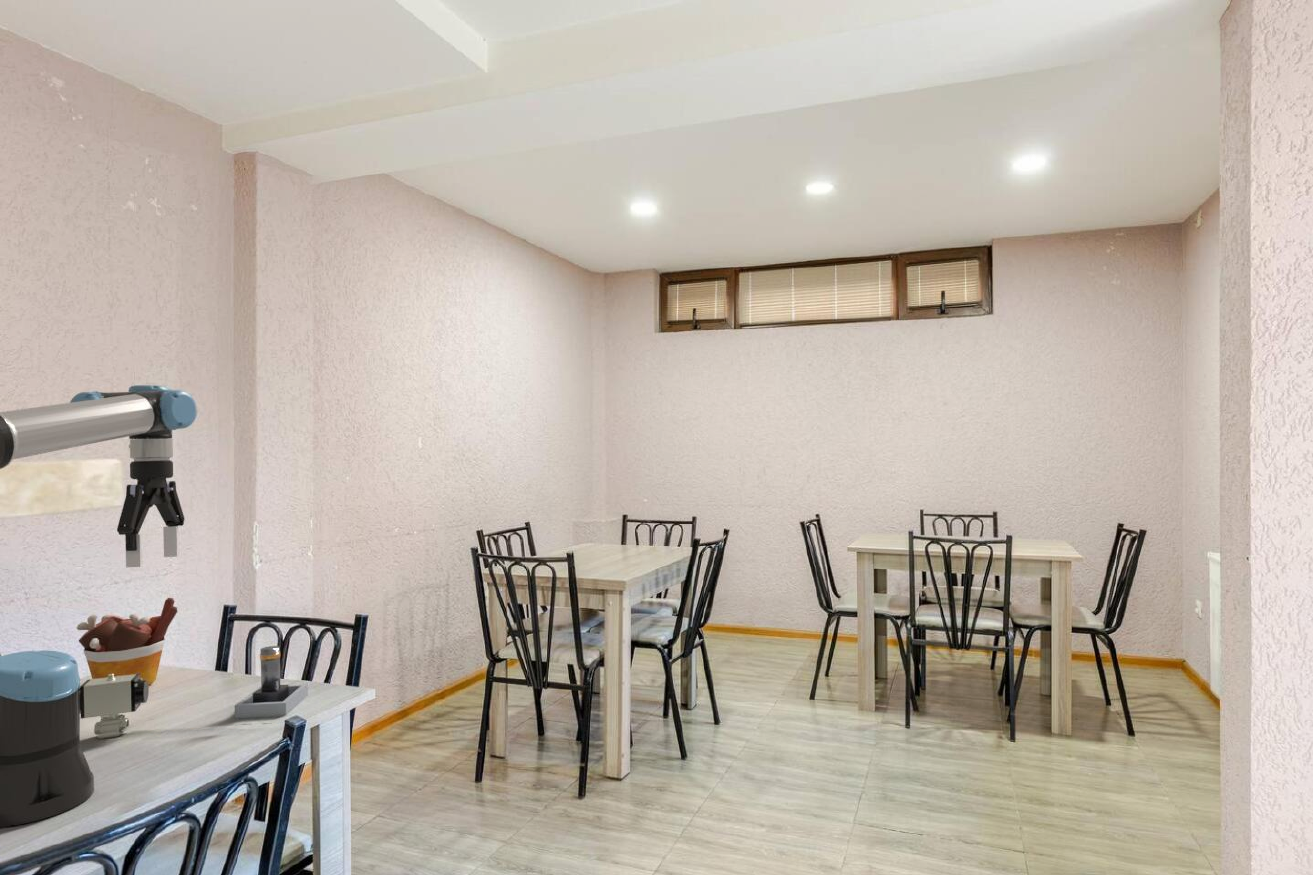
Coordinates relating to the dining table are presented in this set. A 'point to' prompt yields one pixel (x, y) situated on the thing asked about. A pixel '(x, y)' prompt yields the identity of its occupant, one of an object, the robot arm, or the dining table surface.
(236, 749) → the dining table surface
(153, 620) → the bucket of meat
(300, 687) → the bin
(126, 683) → the pneumatic valve
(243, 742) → the dining table surface
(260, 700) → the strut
